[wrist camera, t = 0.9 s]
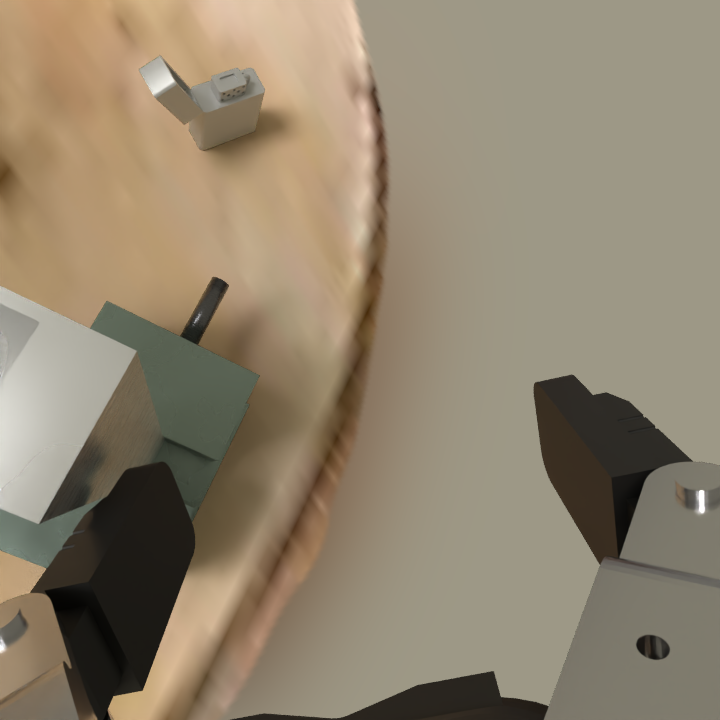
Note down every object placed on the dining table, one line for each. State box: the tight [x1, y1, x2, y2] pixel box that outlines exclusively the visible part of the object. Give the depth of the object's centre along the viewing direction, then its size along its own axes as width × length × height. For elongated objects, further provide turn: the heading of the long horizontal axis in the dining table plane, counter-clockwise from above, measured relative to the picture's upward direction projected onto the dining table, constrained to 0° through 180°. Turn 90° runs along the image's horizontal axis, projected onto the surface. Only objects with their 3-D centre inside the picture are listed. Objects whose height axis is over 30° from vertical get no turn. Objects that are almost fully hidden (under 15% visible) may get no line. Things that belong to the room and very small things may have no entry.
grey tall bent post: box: [0, 277, 260, 568], centre depth 20 cm, size 16×18×28 cm
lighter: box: [139, 55, 265, 151], centre depth 34 cm, size 7×2×8 cm, turn 122°
